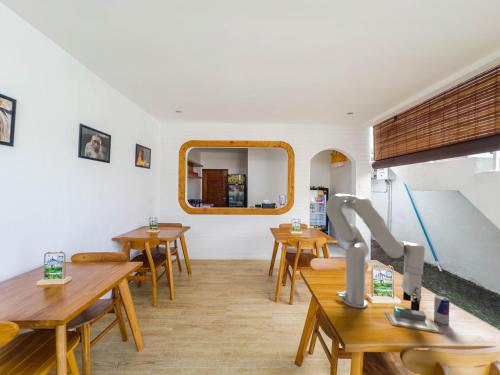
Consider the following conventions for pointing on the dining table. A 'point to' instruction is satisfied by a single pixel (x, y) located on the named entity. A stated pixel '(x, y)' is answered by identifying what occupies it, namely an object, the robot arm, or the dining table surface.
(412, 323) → the clipboard
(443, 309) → the energy drink
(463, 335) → the dining table surface
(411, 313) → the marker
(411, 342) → the dining table surface
